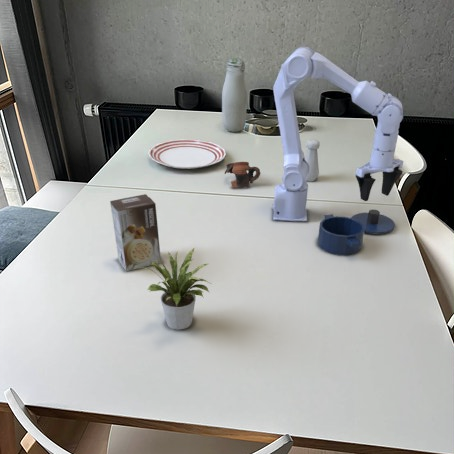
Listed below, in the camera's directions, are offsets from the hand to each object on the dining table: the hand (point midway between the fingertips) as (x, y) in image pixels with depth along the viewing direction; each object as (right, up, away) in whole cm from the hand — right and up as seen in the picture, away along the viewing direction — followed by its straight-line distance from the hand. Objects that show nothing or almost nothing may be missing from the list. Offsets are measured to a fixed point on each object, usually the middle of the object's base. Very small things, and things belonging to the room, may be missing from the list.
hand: (374, 197), depth 141 cm
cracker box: (-62, -18, -13) cm, 66 cm away
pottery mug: (-35, +9, +29) cm, 46 cm away
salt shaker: (-13, +11, +32) cm, 36 cm away
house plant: (-51, -32, -34) cm, 69 cm away
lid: (0, -7, +4) cm, 8 cm away
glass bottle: (-37, +40, +75) cm, 93 cm away
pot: (-11, -13, -5) cm, 18 cm away
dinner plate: (-54, +21, +46) cm, 74 cm away
